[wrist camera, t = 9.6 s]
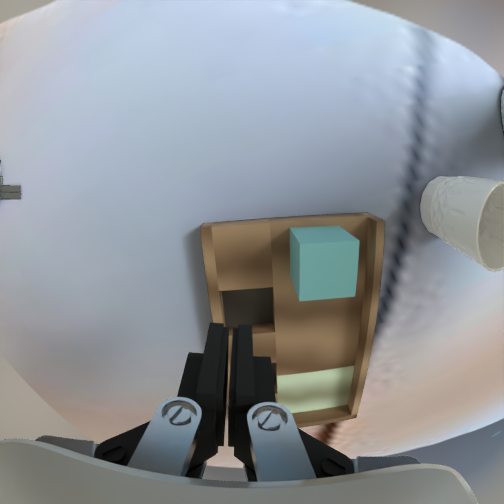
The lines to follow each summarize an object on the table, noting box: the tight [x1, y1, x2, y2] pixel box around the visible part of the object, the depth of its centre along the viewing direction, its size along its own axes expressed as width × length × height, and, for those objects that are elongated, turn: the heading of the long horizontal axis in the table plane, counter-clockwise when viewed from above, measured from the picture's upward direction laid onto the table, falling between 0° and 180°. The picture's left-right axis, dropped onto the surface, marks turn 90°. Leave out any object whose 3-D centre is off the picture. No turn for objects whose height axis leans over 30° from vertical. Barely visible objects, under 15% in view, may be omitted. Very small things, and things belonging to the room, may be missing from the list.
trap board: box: [200, 213, 385, 428], centre depth 29 cm, size 25×16×4 cm, turn 4°
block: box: [290, 226, 360, 301], centre depth 23 cm, size 4×4×5 cm
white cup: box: [420, 176, 504, 272], centre depth 22 cm, size 8×8×10 cm
